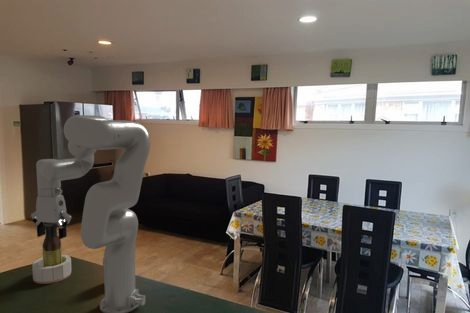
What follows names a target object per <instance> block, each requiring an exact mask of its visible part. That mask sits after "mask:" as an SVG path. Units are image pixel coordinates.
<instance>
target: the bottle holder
mask: <svg viewBox="0 0 470 313" xmlns="http://www.w3.org/2000/svg"><path fill="white" fill-rule="evenodd" d="M31 264H32V280H33V282H34V283H35V284H38V285H39V284H40V285H49V284H55V283H59V282H61V281H64V280H65V279H68V278H70V276H71V275H72V258H71V256H70V255H68V254H63V253H62V263H61V264H59V265H55V266H50V267H44V262H43V257H40V258H37V259H36V260H34V261H33V263H31Z"/></svg>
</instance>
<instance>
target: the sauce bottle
mask: <svg viewBox="0 0 470 313" xmlns="http://www.w3.org/2000/svg"><path fill="white" fill-rule="evenodd" d="M44 224H45V235H44V241H43V243H42V258H43V262H44V267H50V266H55V265H59V264H61V263H62V254H63V251H62V250H63V248H62V247H63V246H62V241H61V240H62V239H59V234H58V229H57V228H58V224H57V223H44Z"/></svg>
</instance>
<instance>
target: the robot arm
mask: <svg viewBox="0 0 470 313" xmlns="http://www.w3.org/2000/svg"><path fill="white" fill-rule="evenodd" d="M63 134H64V137H65V139H66V141H68V143H67V148H68V151H69V153H70V154H71V155H72V156H74V158H64V159H62V158H61V159H55V158H46V159H45V158H44V159H43V158H42V159H38V161H36V164H35V165H36V167H35V168H36V185H37V197H36V203H35V205H36V206H35V211H34V212H32V213H30V217H31V218H32V221H33V223H34V226H35V227H36V236H37V237H38V238H40V237H43V236H46V230H45V224H47V223H57V227H59V228H58V229H57V232H58V236H59V239H60V240H62V239H64V238H67V235H68V234H67V233H68V232H67V227H69V226H68V225H69V224H70V223H71V220H72V215H70V214H69V213H67V206H66V200H65V197H64V195H63V189H62V183H61V181H62V182H63V181H66V180H67V181H68V180H74V179H80V178H82V177H83V176H85V175H86V174H87V173H89V171H90V170H91V169H92V168H93V166H94V163H95V153H96V152H97V150H99V151H101V150H102V151H104V150H105V151H106V150H117V149H124V151H123V152H122V153H121V155H120V156H119V157H118V159H117V161H116V163H115V165H114V171H113V175H112V178H111V179H110V180H106V181H102V182H97V183H95V184H93V185H92V186H90V187H89V189H88V191H87V193H86V195H85V199H84V204H83V211H82V219H81V223H80V224H81V226H80V237H81V241H82V243H83V245H84V246H85V247H87V248H88V249H91V250H96V249H97V250H99V249H101V248H105V249H104V252H103V258H104V280H103V286H104V297H103V298H102V299H101V301H99V310H100V311H101V312H102V313H129V312H133V311H134V310H135V309H137V308H138V307H139V306H145V304H146V294H140V292H139V288H136V241H137V235H138V230H139V219H138V216H137V214H136V213H135V212H134V211H133V210H131V209H130V208H132V207H134V206H135V205H137V203H138V201H139V197H140V194H141V193H140V192H141V186H142V182H143V176H144V172H145V168H146V164H147V160H148V157H149V155H150V150H151V138H150V137H151V136H150V134H149V131H148V130H147V128H145V126H144V125H143V124H141V123H139V122H138V121H134V120H122V119H120V120H116V119H115V120H113V119H109V118H106V117H105V116H101V115H89V114H88V115H86V114H85V115H84V114H81V115H80V114H75V115H72V116H70V117H69V118H67V119H66V121H65V123H64V125H63Z"/></svg>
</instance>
